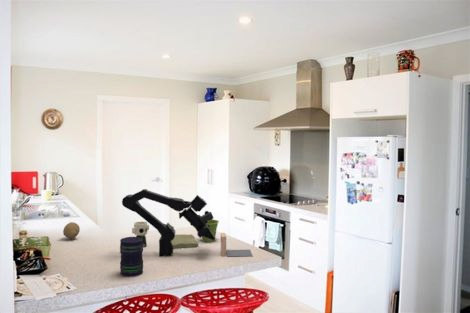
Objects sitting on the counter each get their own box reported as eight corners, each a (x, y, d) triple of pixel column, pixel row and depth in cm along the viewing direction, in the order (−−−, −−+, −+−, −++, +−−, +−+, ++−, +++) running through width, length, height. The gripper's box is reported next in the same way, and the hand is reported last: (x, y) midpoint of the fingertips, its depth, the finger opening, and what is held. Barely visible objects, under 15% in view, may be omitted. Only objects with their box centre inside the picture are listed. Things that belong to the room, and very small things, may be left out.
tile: (221, 256, 201) (221, 236, 200) (220, 251, 209) (220, 232, 208) (226, 256, 201) (226, 236, 200) (225, 251, 209) (225, 232, 208)
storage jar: (120, 277, 169) (119, 243, 168) (120, 270, 178) (119, 237, 178) (144, 275, 172) (144, 241, 171) (142, 268, 181) (142, 236, 180)
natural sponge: (79, 240, 228) (79, 223, 228) (62, 242, 225) (62, 224, 224) (79, 236, 237) (79, 220, 236) (63, 238, 233) (63, 221, 233)
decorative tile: (192, 239, 236) (193, 233, 236) (198, 248, 216) (198, 241, 216) (161, 241, 231) (161, 235, 231) (164, 250, 211) (164, 244, 211)
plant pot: (194, 240, 231) (194, 221, 231) (210, 237, 239) (210, 218, 238) (206, 244, 222) (206, 224, 222) (222, 241, 230) (223, 221, 230)
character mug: (136, 249, 211) (136, 225, 211) (128, 247, 216) (128, 223, 215) (152, 245, 219) (152, 222, 219) (145, 243, 224) (145, 220, 223)
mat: (227, 256, 200) (227, 256, 200) (225, 250, 210) (225, 249, 210) (252, 256, 201) (252, 255, 201) (250, 250, 212) (250, 249, 212)
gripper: (204, 210, 194) (226, 232, 195) (204, 203, 212) (224, 224, 214) (188, 226, 193) (210, 248, 195) (189, 218, 212) (209, 238, 213)
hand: (214, 239), depth 204 cm, fingers closed
